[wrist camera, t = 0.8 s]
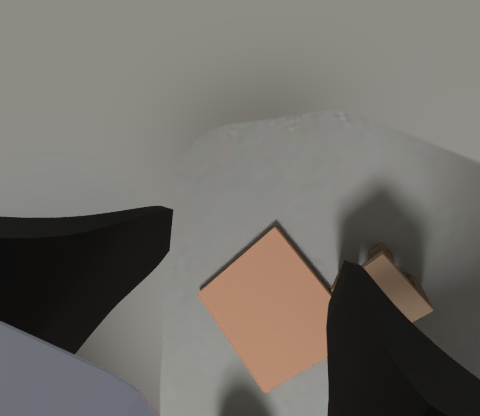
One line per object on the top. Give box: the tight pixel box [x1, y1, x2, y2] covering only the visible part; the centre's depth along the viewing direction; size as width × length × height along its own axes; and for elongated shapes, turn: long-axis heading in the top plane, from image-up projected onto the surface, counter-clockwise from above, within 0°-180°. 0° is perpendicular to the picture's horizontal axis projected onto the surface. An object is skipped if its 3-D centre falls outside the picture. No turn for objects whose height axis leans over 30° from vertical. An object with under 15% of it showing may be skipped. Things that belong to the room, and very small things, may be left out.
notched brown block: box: [331, 243, 434, 322], centre depth 22 cm, size 4×4×5 cm
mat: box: [197, 226, 332, 393], centre depth 28 cm, size 12×12×1 cm
